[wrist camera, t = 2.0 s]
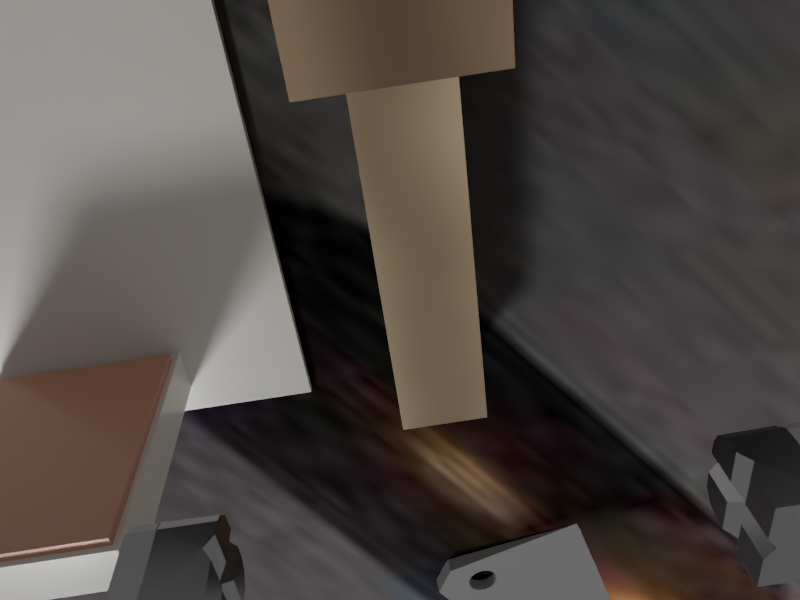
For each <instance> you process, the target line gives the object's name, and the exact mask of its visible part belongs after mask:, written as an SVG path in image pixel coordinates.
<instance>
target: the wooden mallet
mask: <svg viewBox="0 0 800 600" xmlns="http://www.w3.org/2000/svg"><path fill="white" fill-rule="evenodd" d="M268 4H269V9H270V13H271V18H272V23H273V27H274V32H275V37H276V41H277V46H278V50H279V55H280V60H281V64H282V69H283V74H284V78H285V83H286V88H287V92H288V97H289V102H296V101H302V100H309V99H315V98H322V97H329V96H335V95H342V94H346V96H347V102H348V108H349V114H350V120H351V126H352V132H353V138H354V143H355V149H356V155H357V161H358V167H359V173H360V179H361V184H362V190H363V196H364V202H365V208H366V214H367V220H368V226H369V231H370V237H371V243H372V249H373V255H374V261H375V267H376V272H377V278H378V284H379V290H380V296H381V302H382V308H383V313H384V319H385V325H386V331H387V337H388V343H389V349H390V355H391V360H392V366H393V372H394V378H395V384H396V390H397V396H398V401H399V407H400V413H401V419H402V425H403V430H405V429H412V428H418V427H425V426H432V425H438V424H445V423H451V422H458V421H465V420H471V419H478V418H484V417H487V410H486V398H485V386H484V373H483V361H482V349H481V337H480V325H479V313H478V301H477V289H476V277H475V265H474V253H473V241H472V229H471V217H470V205H469V193H468V181H467V169H466V157H465V145H464V133H463V120H462V108H461V96H460V84H459V77H460V76H466V75H473V74H479V73H486V72H492V71H499V70H506V69H512V68H515V48H514V23H513V0H268Z"/></svg>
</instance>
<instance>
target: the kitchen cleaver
mask: <svg viewBox="0 0 800 600" xmlns="http://www.w3.org/2000/svg"><path fill="white" fill-rule="evenodd" d="M480 571H492V572H494V573H493V574H492V575H491V576H490V577H488V578H486V579H483V580H473V579H471V577H472V576H473V575H474V574H476V573H478V572H480ZM437 583H438V588H439V592H440V593H441V594H442V595H444V596H445V597H446V598H447V599H449V600H610V598H609V596H608V593H607V591H606V589H605V586H604V584H603V582H602V579H601V577H600V575H599V572H598V570H597V567H596V565H595V563H594V560H593V559H592V556H591V554H590V552H589V550H588V547H587V545H586V543H585V540H584V538H583V536H582V534H581V530H580V529H579V527H578V525H577V524H573V525H570V526H566V527H563V528H559V529H556V530H552V531H548V532H545V533H541V534H538V535H534V536H531V537H527V538H523V539H520V540H516V541H513V542H509V543H506V544H502V545H498V546H495V547H491V548H488V549H484V550H481V551H477V552H473V553H470V554H466V555H463V556H459V557H456V558H452V559H448V560H447V562H446V564H445V565H444V567H443V569H442V571H441V573H440V574H439V576H438V578H437Z"/></svg>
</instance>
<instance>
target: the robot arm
mask: <svg viewBox="0 0 800 600" xmlns="http://www.w3.org/2000/svg"><path fill="white" fill-rule="evenodd" d="M712 454H713V455H714V457H715V459H716V460H717V462H718V463H717V464H716V465H715V466H714V467H713V468H712V469H711V470H710V471H709V475H708V485H707V488H708V494H709V499H710V504H711V506H712V509H713V511H714V514H715V516H716V518H717V520H718V522H719V523H720V525H721V527H722V528H723V529H724V530H726V531H727V532H729V533H731V534H732V535H734V536H736V537H737V538H739V539H738V544H737V550H736V552H737V554H738V555H739V557H740V559H741V560H742V562H743V564H744V565H745V567H746V569H747V570H748V572H749V574H750V575H751V577H752V579H753V580H754V582H755V584H756V585H757V587H759V586H766V585H774V584H782V583H789V582H797V581H800V422H796V423H790V424H784V425H779V426H770V427H764V428H758V429H753V430H747V431H741V432H735V433H729V434H723V435H718V436H717V438H716V439H715V440H714V443H713V449H712ZM230 531H231V528H230V526H229V523H228V521H227V519H226V517H225V515H214V516H206V517H199V518H191V519H183V520H176V521H168V522H161V523H157V524H149V525H142V526H135V527H131V528H130V529H129V530H128V532H127V533H126V535H125V536H124V539H123V542H122V546H121V549H120V552H119V556H118V559H117V562H116V566H115V569H114V572H113V576H112V579H111V582H110V585H109V589H108V592H107V595H106V599H105V600H244V592H245V581H244V567H243V562H242V558H241V554H240V552H239V549H238V547H237V546H236V545H234V544H232V543H231V542H229V538H230Z"/></svg>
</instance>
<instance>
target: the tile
mask: <svg viewBox="0 0 800 600" xmlns="http://www.w3.org/2000/svg"><path fill="white" fill-rule="evenodd" d="M190 389H191V383H190V380H189V378H188V375H187V372H186V370H185V367H184V364H183V361H182V359H181V356H180V353H177V354H166V355H159V356H152V357H146V358H139V359H133V360H126V361H119V362H113V363H106V364H100V365H93V366H86V367H80V368H73V369H67V370H60V371H53V372H47V373H40V374H34V375H27V376H20V377H14V378H7V379H1V380H0V600H50V599H57V598H63V597H70V596H77V595H83V594H90V593H97V592H103V591H108V589H109V585H110V582H111V579H112V576H113V572H114V569H115V566H116V562H117V559H118V556H119V552H120V549H121V546H122V542H123V539H124V536H125V535H126V533H127V532H128V530H129V529H130V528H131V527H135V526H142V525H149V524H154V522H155V518H156V515H157V511H158V507H159V503H160V500H161V496H162V492H163V489H164V485H165V481H166V478H167V474H168V470H169V467H170V463H171V459H172V456H173V452H174V448H175V444H176V441H177V437H178V433H179V430H180V426H181V422H182V419H183V415H184V411H185V408H186V404H187V400H188V397H189V393H190Z"/></svg>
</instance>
